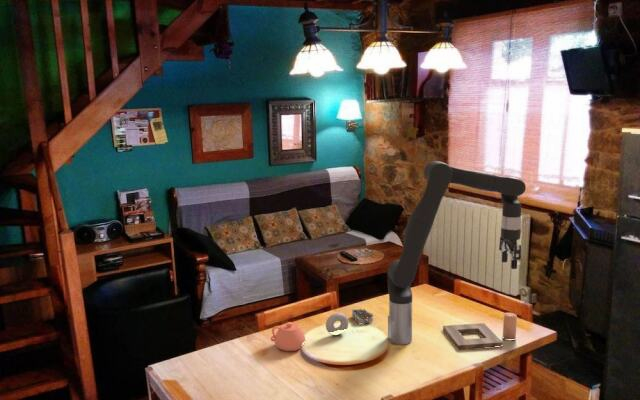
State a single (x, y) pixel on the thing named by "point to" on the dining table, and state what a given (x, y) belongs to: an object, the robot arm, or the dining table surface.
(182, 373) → the dining table surface
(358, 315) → the egg carton
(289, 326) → the sugar bowl
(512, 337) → the peg
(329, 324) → the donut
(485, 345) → the hole plate
